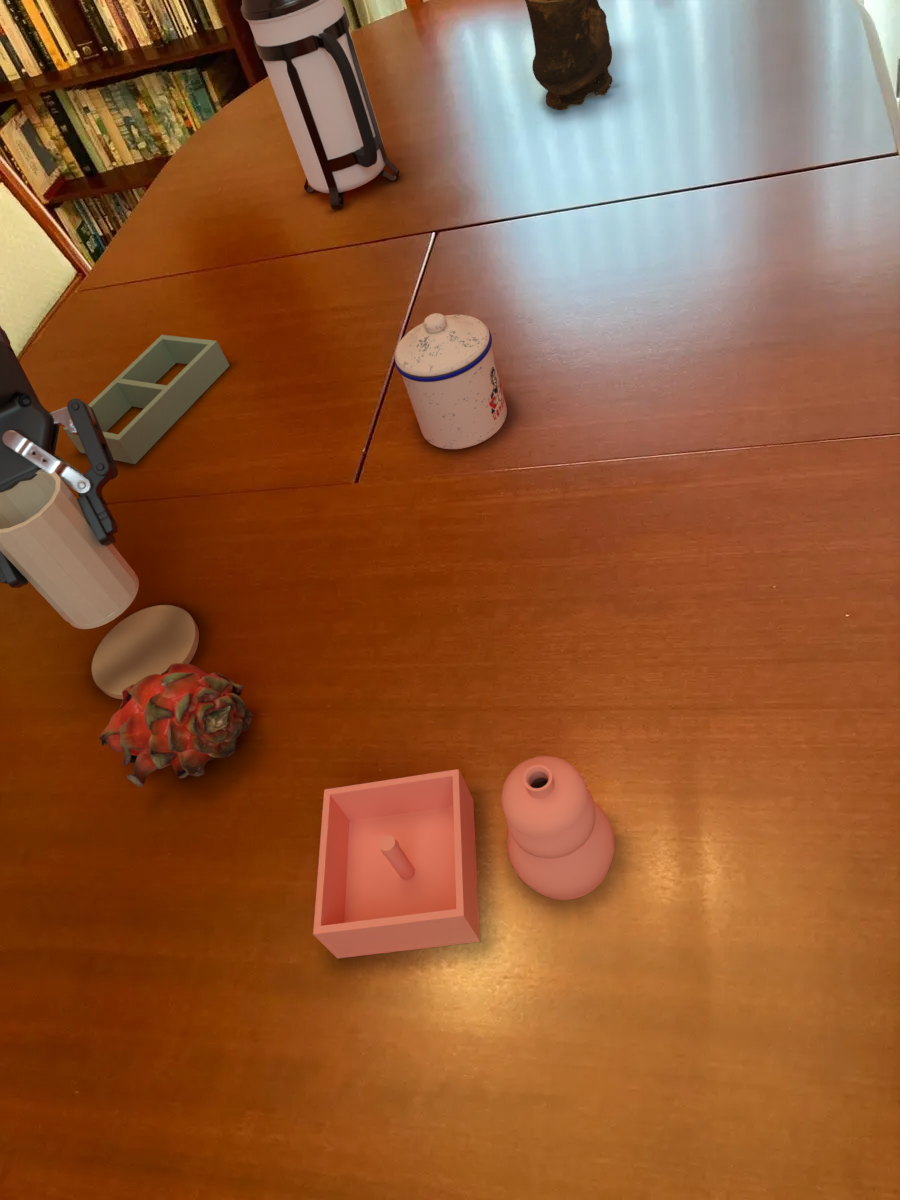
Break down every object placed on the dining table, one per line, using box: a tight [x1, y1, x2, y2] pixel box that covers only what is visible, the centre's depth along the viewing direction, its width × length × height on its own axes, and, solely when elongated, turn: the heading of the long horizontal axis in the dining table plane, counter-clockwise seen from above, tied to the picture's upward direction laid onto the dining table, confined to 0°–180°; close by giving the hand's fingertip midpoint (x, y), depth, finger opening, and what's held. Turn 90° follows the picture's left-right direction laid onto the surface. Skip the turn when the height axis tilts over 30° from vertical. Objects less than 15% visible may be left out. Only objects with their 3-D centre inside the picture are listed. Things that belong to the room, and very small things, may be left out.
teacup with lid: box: [394, 312, 508, 450], centre depth 83 cm, size 12×9×12 cm
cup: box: [0, 469, 140, 630], centre depth 67 cm, size 6×6×11 cm
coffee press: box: [240, 0, 400, 211], centre depth 117 cm, size 17×16×30 cm
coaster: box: [91, 604, 200, 700], centre depth 76 cm, size 10×10×1 cm
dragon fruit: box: [98, 663, 254, 788], centre depth 66 cm, size 8×8×12 cm
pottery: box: [312, 755, 616, 959], centre depth 53 cm, size 18×10×10 cm, turn 91°
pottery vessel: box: [524, 0, 613, 111], centre depth 123 cm, size 25×11×20 cm, turn 172°
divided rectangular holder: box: [62, 334, 231, 465], centre depth 101 cm, size 9×18×4 cm, turn 151°
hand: (64, 563), depth 66 cm, fingers closed on cup, 6 cm apart
